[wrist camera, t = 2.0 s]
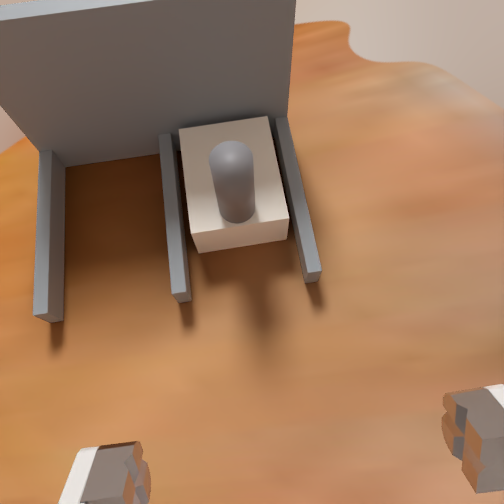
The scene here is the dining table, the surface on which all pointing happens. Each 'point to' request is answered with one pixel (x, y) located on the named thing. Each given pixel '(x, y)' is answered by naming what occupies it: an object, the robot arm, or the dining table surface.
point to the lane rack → (143, 102)
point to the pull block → (233, 185)
